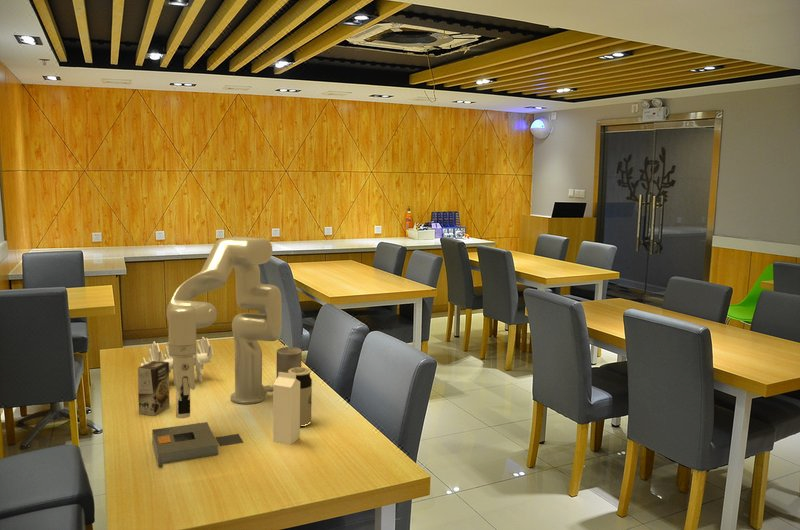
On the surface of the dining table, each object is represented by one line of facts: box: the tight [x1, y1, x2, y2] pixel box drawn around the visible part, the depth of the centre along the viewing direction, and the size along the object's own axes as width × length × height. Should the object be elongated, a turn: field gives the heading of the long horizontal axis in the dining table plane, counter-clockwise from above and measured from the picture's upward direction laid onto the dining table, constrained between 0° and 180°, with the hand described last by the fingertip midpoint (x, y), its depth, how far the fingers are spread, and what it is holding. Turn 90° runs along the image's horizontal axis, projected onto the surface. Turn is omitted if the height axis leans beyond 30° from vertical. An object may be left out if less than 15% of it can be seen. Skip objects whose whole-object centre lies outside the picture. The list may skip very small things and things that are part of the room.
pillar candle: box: [275, 346, 303, 379], centre depth 244 cm, size 10×10×15 cm
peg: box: [175, 381, 191, 419], centre depth 182 cm, size 4×4×10 cm
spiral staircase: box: [139, 336, 215, 383], centre depth 239 cm, size 18×18×25 cm
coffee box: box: [137, 361, 171, 417], centre depth 213 cm, size 9×6×16 cm
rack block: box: [151, 421, 219, 468], centre depth 184 cm, size 16×18×4 cm
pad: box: [214, 433, 244, 447], centre depth 190 cm, size 7×7×1 cm
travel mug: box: [288, 366, 313, 426], centre depth 205 cm, size 8×8×18 cm
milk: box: [272, 372, 301, 446], centre depth 190 cm, size 6×6×22 cm
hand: (183, 410), depth 182 cm, fingers closed on peg, 4 cm apart
